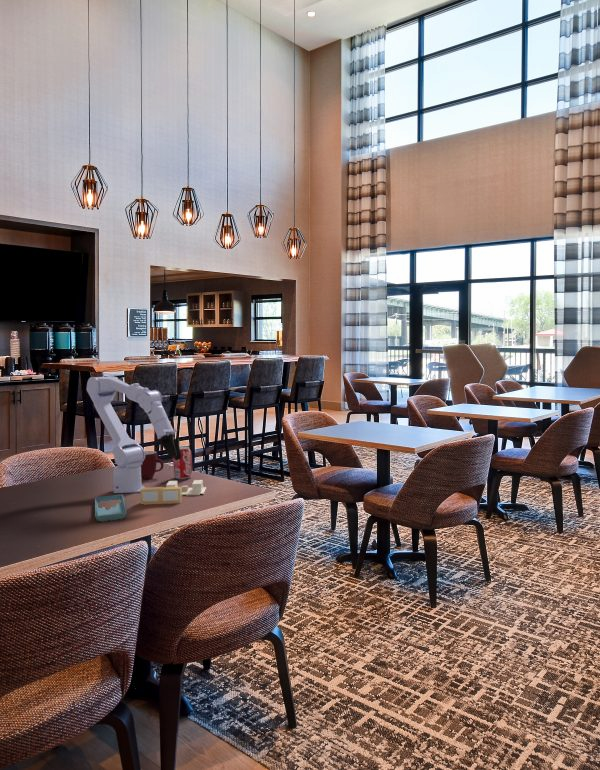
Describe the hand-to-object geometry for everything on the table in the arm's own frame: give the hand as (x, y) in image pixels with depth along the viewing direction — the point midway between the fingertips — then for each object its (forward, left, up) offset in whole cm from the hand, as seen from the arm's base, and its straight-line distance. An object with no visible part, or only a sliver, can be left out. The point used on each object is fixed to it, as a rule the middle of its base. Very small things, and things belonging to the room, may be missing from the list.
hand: (176, 457), depth 212 cm
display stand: (+1, +8, -14) cm, 16 cm away
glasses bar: (-5, -5, -14) cm, 16 cm away
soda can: (-3, +32, -14) cm, 35 cm away
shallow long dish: (-20, -12, -15) cm, 27 cm away
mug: (-16, +34, -14) cm, 40 cm away
